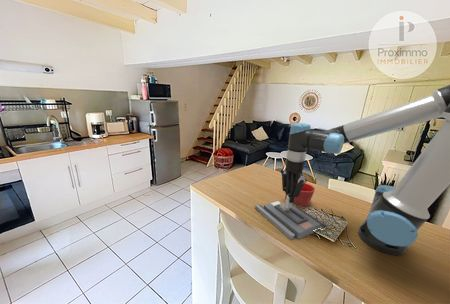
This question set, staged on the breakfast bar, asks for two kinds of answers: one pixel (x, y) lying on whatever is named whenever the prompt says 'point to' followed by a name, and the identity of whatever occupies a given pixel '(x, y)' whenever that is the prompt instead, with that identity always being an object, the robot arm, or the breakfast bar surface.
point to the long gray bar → (311, 217)
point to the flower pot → (304, 195)
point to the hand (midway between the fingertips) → (288, 207)
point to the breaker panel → (293, 219)
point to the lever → (283, 204)
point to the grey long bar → (276, 222)
